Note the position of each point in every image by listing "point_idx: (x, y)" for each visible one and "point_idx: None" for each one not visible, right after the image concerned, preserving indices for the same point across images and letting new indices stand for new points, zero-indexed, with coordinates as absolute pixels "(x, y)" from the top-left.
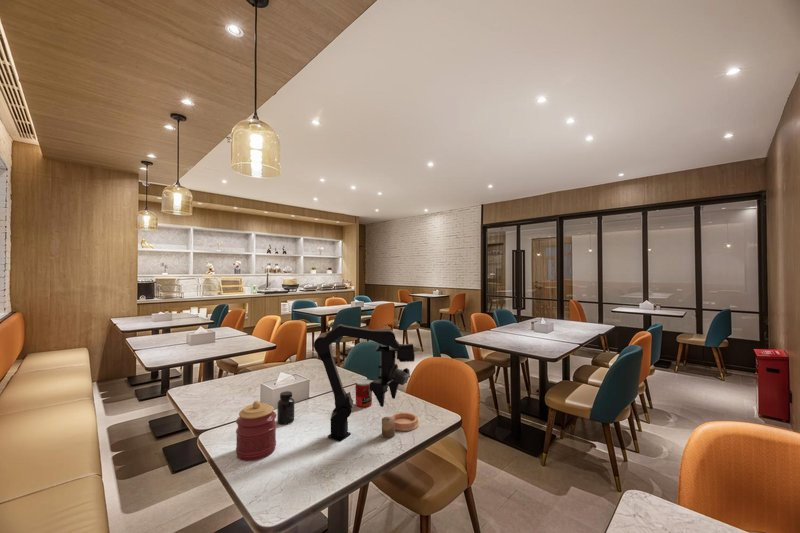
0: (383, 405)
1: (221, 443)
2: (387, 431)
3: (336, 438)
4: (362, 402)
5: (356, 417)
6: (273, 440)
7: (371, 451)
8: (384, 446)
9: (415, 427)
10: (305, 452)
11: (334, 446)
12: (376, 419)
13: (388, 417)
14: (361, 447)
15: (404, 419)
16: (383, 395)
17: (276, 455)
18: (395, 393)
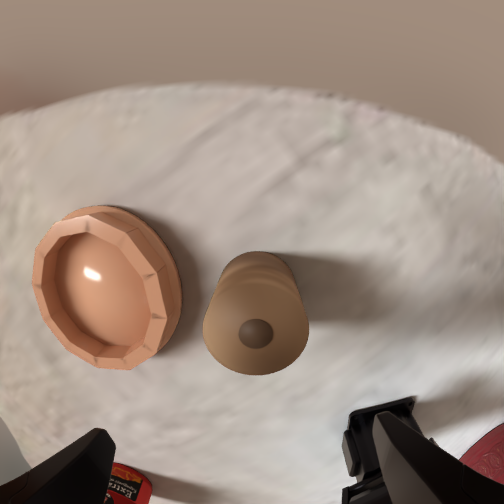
0: (384, 419)
1: None
2: (294, 282)
3: (410, 413)
4: (139, 489)
5: (213, 466)
6: (497, 450)
7: (434, 249)
8: (373, 226)
9: (101, 206)
10: (481, 400)
11: (443, 382)
12: (167, 414)
13: (227, 349)
14: (424, 309)
15: (80, 308)
16: (502, 496)
17: (494, 421)
18: (70, 462)
